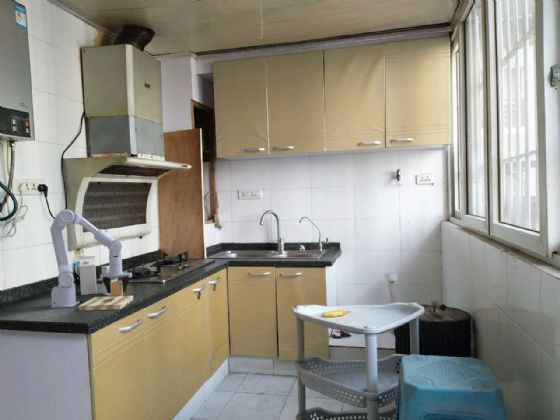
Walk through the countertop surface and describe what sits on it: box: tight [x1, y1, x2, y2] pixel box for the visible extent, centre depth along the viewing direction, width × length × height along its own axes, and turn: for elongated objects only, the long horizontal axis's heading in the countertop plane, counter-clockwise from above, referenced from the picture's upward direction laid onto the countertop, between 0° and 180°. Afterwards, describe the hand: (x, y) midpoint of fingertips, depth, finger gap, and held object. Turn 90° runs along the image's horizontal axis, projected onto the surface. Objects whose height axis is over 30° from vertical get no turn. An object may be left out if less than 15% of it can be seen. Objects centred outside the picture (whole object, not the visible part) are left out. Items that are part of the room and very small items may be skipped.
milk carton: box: [79, 255, 97, 296], centre depth 212 cm, size 7×7×19 cm
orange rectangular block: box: [110, 280, 124, 296], centre depth 199 cm, size 4×4×8 cm
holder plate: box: [78, 295, 134, 312], centre depth 187 cm, size 18×16×2 cm
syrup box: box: [101, 265, 119, 297], centre depth 209 cm, size 6×6×14 cm
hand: (117, 292), depth 199 cm, fingers open, 7 cm apart
